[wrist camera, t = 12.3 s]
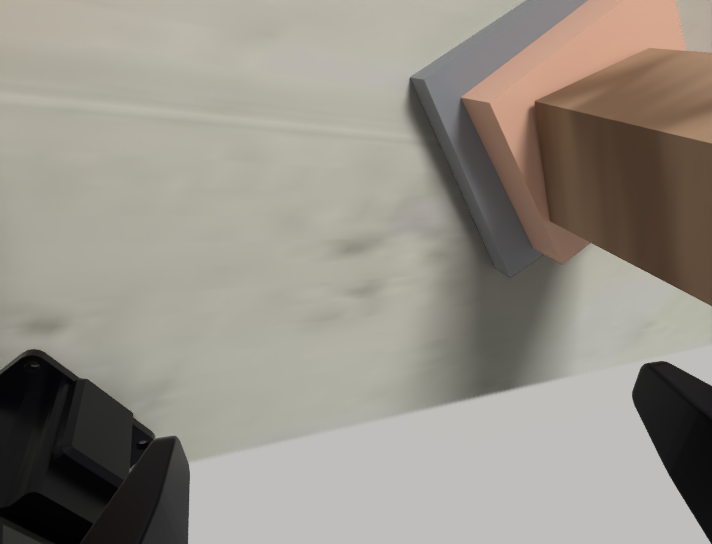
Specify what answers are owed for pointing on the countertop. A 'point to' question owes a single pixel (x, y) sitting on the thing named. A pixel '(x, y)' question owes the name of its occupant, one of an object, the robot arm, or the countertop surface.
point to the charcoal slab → (459, 136)
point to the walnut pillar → (636, 163)
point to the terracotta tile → (546, 75)
